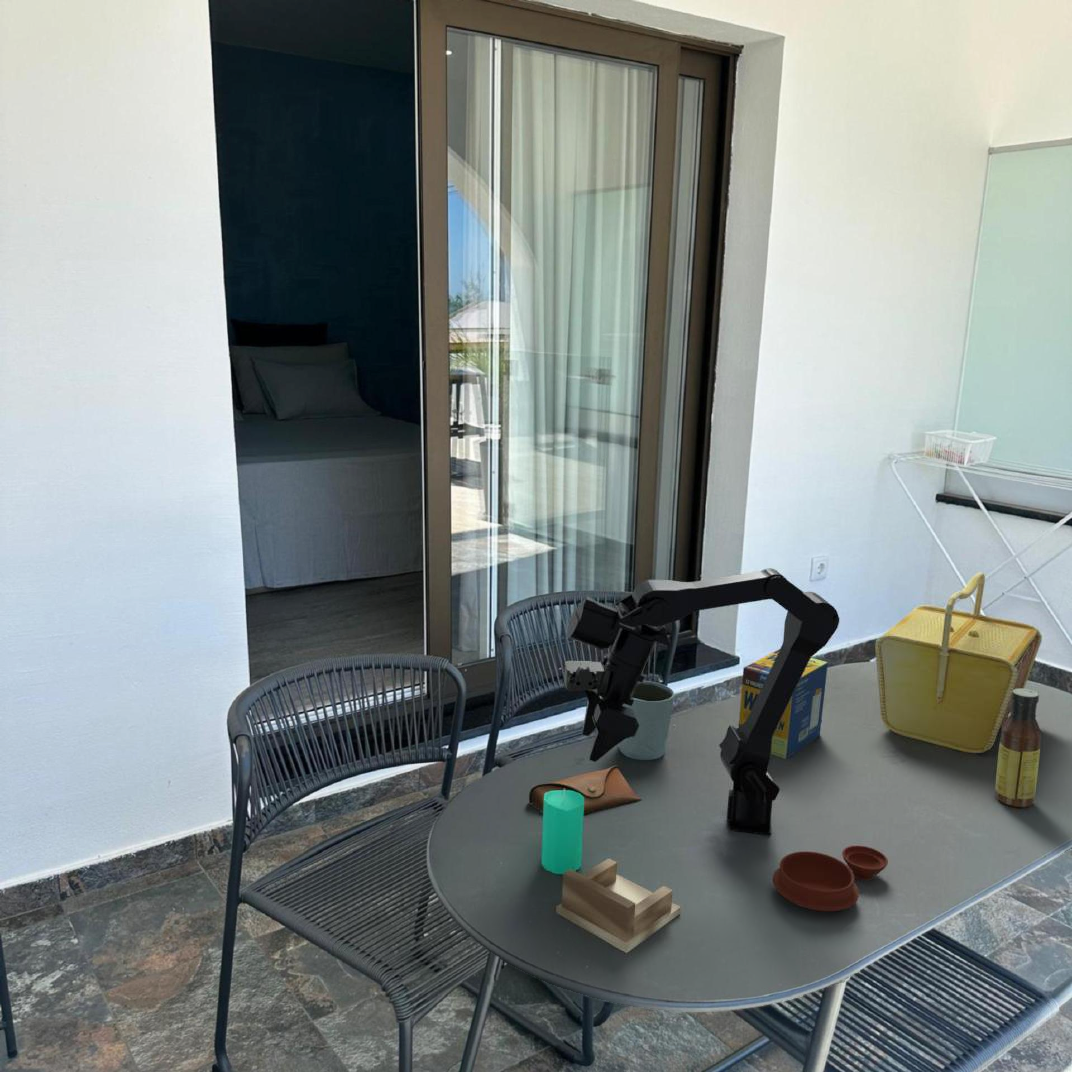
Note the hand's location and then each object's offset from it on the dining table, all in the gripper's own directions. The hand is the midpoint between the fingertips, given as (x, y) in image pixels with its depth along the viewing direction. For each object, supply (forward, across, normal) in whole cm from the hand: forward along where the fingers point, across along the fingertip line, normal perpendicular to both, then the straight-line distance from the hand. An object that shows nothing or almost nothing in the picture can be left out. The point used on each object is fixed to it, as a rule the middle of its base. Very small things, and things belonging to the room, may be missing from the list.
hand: (588, 747), depth 152 cm
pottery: (+1, +18, +36) cm, 41 cm away
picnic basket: (-15, -39, +80) cm, 90 cm away
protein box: (-2, -32, +44) cm, 55 cm away
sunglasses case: (+13, -8, +6) cm, 16 cm away
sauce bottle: (-14, -7, +75) cm, 77 cm away
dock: (+12, +24, +6) cm, 27 cm away
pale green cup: (+8, -27, +18) cm, 33 cm away
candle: (+14, +11, 0) cm, 18 cm away
